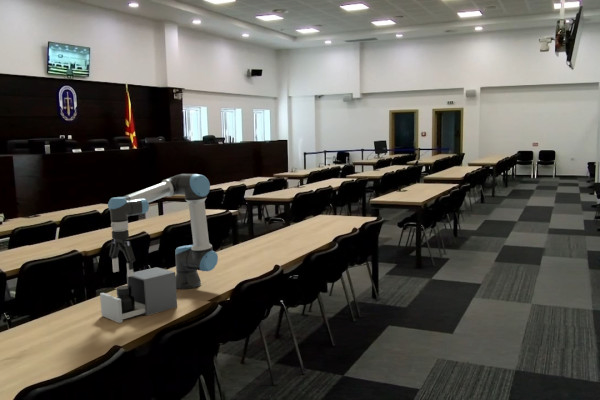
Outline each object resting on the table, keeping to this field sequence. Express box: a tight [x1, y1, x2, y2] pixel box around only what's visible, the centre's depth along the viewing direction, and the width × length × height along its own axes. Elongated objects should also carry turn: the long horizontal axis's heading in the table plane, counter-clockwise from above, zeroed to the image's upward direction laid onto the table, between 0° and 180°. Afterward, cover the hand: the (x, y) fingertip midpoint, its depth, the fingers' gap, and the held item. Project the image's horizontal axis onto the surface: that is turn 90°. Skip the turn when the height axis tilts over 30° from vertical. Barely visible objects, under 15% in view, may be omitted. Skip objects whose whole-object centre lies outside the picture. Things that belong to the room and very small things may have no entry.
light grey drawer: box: [99, 292, 146, 324], centre depth 257 cm, size 17×17×11 cm
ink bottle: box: [116, 284, 135, 314], centre depth 257 cm, size 10×9×12 cm
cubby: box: [126, 266, 178, 316], centre depth 267 cm, size 17×17×18 cm
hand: (123, 273), depth 255 cm, fingers open, 13 cm apart
